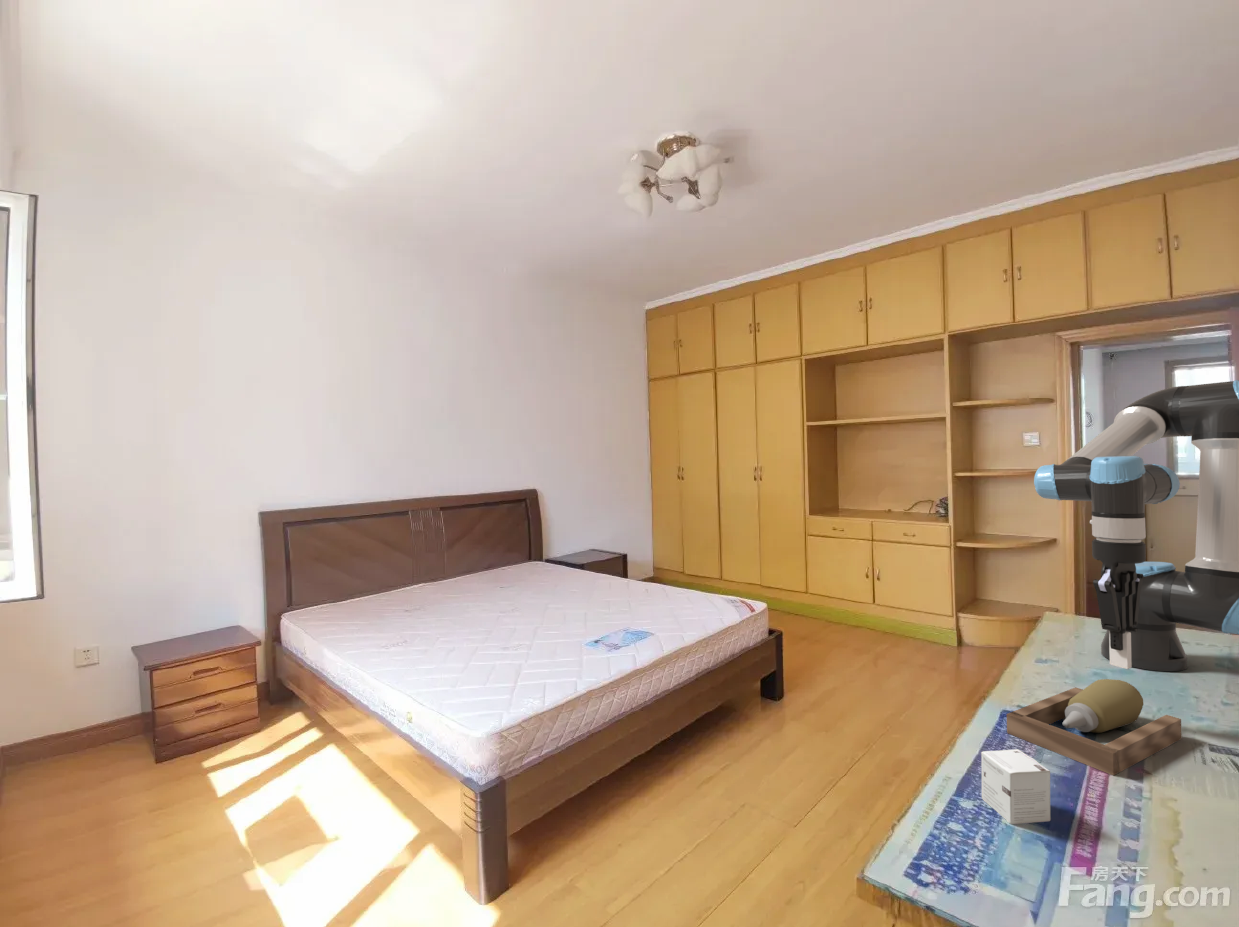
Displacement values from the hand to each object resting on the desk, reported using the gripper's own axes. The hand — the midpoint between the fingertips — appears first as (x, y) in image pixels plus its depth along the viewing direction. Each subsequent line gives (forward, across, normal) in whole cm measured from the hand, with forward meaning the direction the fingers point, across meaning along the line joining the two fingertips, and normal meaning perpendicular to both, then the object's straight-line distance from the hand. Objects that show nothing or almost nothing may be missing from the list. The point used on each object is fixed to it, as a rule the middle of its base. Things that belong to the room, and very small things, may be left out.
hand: (1120, 665), depth 107 cm
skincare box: (+11, +44, +6) cm, 45 cm away
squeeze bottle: (+6, -3, 0) cm, 7 cm away
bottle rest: (+11, +10, 0) cm, 14 cm away
